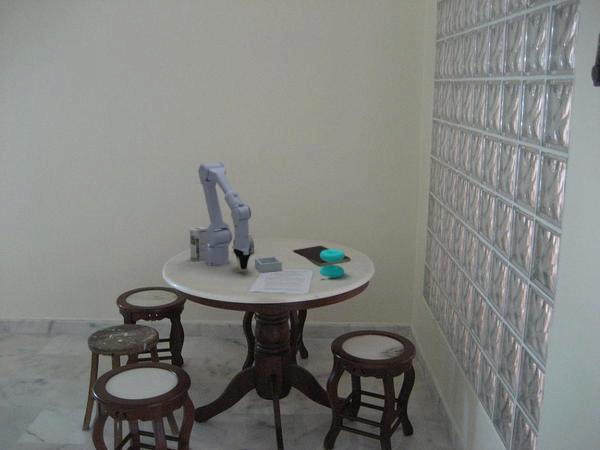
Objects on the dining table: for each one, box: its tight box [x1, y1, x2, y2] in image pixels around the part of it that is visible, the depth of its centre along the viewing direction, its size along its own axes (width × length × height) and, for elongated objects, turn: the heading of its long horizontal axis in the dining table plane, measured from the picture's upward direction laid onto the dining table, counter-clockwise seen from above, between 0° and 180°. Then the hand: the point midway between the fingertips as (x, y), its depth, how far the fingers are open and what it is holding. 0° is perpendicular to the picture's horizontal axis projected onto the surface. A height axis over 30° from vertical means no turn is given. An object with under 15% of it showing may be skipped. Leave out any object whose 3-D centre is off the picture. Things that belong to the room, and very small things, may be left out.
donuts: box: [319, 248, 346, 279], centre depth 269 cm, size 10×10×10 cm
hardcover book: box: [292, 245, 351, 267], centre depth 295 cm, size 16×23×2 cm
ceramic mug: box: [232, 234, 255, 255], centre depth 302 cm, size 11×8×8 cm
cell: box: [236, 257, 247, 272], centre depth 271 cm, size 4×4×7 cm
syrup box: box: [189, 226, 209, 263], centre depth 290 cm, size 6×6×14 cm
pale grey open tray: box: [254, 256, 283, 273], centre depth 275 cm, size 9×9×4 cm
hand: (242, 267), depth 271 cm, fingers closed on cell, 4 cm apart
